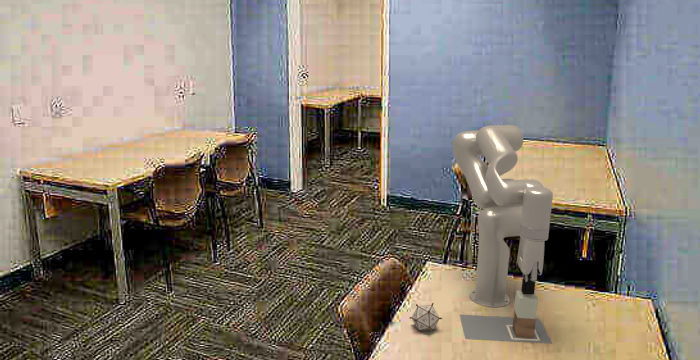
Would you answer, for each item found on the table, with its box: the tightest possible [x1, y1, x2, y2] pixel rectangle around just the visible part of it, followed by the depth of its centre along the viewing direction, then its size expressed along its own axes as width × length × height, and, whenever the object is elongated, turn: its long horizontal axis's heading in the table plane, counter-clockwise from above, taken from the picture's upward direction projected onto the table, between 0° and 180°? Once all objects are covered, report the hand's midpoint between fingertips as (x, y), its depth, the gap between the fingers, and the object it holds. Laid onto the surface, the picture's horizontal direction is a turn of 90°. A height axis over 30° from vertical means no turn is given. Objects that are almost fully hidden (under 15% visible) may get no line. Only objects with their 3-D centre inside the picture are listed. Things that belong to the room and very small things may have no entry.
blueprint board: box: [459, 314, 553, 345], centre depth 168 cm, size 14×24×1 cm, turn 86°
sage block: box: [513, 290, 539, 319], centre depth 163 cm, size 5×5×6 cm
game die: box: [408, 302, 443, 332], centre depth 166 cm, size 9×8×10 cm
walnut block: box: [512, 310, 536, 338], centre depth 165 cm, size 5×5×6 cm
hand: (527, 293), depth 162 cm, fingers closed
